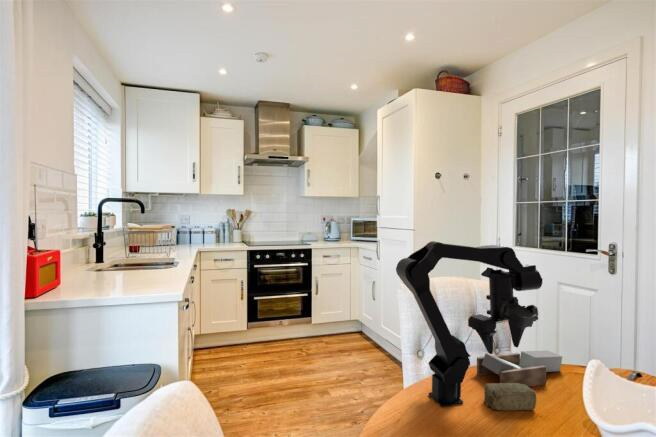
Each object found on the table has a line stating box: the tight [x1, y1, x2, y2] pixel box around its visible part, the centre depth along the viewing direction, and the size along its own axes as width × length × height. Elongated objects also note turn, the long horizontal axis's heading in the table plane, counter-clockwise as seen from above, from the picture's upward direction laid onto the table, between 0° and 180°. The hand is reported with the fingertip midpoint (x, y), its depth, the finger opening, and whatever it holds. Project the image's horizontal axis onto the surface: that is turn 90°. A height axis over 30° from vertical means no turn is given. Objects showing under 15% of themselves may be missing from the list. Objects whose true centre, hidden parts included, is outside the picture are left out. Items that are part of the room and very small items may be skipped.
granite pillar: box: [519, 350, 563, 373], centre depth 111 cm, size 5×5×13 cm
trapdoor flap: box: [481, 352, 522, 376], centre depth 106 cm, size 14×8×4 cm, turn 106°
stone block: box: [483, 382, 537, 412], centre depth 92 cm, size 6×12×5 cm, turn 94°
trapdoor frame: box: [476, 352, 547, 388], centre depth 106 cm, size 15×11×5 cm
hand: (503, 350), depth 97 cm, fingers open, 9 cm apart
